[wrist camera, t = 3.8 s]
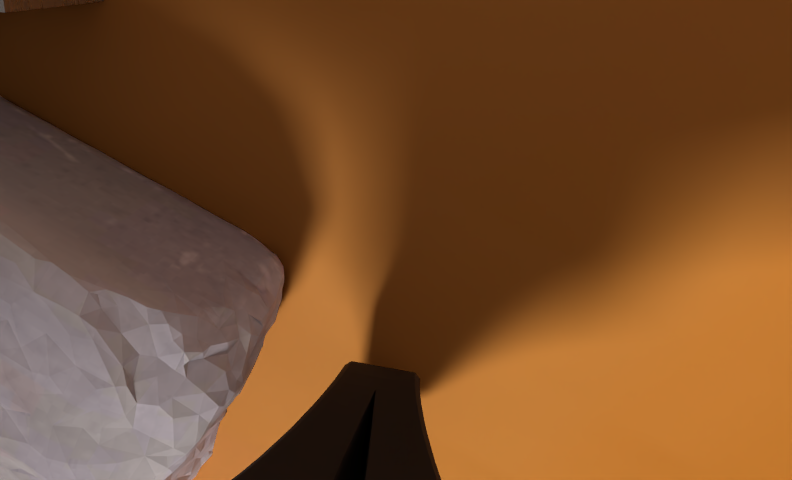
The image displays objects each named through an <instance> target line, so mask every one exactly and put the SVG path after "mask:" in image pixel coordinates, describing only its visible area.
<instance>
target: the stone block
mask: <svg viewBox="0 0 792 480" xmlns="http://www.w3.org/2000/svg"><path fill="white" fill-rule="evenodd" d="M283 284H284V266H283V265H282V263H281V261H280V260H279V258H278V257H277V255H276V254H274V253H273V252H271V251H270V250H269V249H268V248H266V247H265V246H264V245H263V244H262V243H261V242H259V241H258V240H257V239H255V238H254V237H253V236H251V235H250V234H248V233H246V232H245V231H243V230H242V229H240V228H238V227H236V226H234V225H232V224H230V223H228V222H226V221H225V220H223V219H221V218H219V217H217V216H216V215H214V214H212V213H210V212H208V211H207V210H205V209H203V208H201V207H199V206H198V205H196V204H195V203H193V202H191V201H190V200H188V199H186V198H184V197H182V196H180V195H178V194H177V193H175V192H173V191H172V190H170V189H168V188H166V187H164V186H162V185H160V184H158V183H156V182H154V181H152V180H150V179H149V178H147V177H145V176H143V175H141V174H140V173H138V172H136V171H134V170H132V169H131V168H129V167H127V166H125V165H124V164H122V163H120V162H118V161H116V160H115V159H113V158H111V157H109V156H108V155H106V154H104V153H102V152H101V151H99V150H97V149H95V148H93V147H91V146H89V145H87V144H85V143H83V142H82V141H80V140H78V139H76V138H74V137H72V136H71V135H69V134H67V133H65V132H64V131H62V130H60V129H59V128H57V127H55V126H53V125H52V124H50V123H48V122H46V121H44V120H42V119H40V118H39V117H37V116H35V115H33V114H31V113H30V112H28V111H26V110H24V109H22V108H20V107H18V106H16V105H14V104H13V103H11V102H9V101H8V100H6V99H5V98H3V97H2V96H0V480H192V479H193V478H194V477H195V476H196V475H197V473H198V471H199V469H200V468H201V466H202V465H203V464H204V463H205V462H206V461H207V460H208V459H209V458H210V456H211V455H212V453H213V452H212V450H213V446H214V442H215V439H216V434H217V430H218V426H219V424H220V421H221V420H222V419H223V417H224V416H225V413H226V408H227V407H228V406H229V405H230V404H231V403H232V401H233V400H234V398H235V397H236V396H237V395H238V394H240V392H241V390H242V388H243V386H244V384H245V382H246V380H247V378H248V377H249V375H250V373H251V371H252V369H253V367H254V365H255V362H256V360H257V357H258V355H259V353H260V350H261V348H262V346H263V341H264V338H265V335H266V333H267V332H268V330H269V329H270V327H271V326H272V325H273V323H274V322H275V320H276V316H277V312H278V308H279V305H280V303H281V300H282V288H283Z"/></svg>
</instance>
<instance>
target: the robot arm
mask: <svg viewBox="0 0 792 480" xmlns="http://www.w3.org/2000/svg"><path fill="white" fill-rule="evenodd" d="M232 480H441V478H440V475H439V472H438V469H437V466H436V463H435V460H434V457H433V453H432V449H431V446H430V442H429V439H428V435H427V431H426V427H425V422H424V417H423V412H422V406H421V398H420V378H419V377H418V376H417V375H416V373H413V372H408V371H402V370H397V369H391V368H386V367H380V366H375V365H369V364H364V363H358V362H353V361H351V362H349V363H348V364H346V365H345V366H344V367H343V369H342V370H341V372H340V373H339V374H338V376H337V377H336V378H335V380H334V381H333V382H332V384H331V385H330V386H329V387H328V388H327V390H326V391H325V392H324V393H323V394H322V395H321V397H320V398H319V399H318V400H317V401H316V402H315V403H314V405H313V406H312V407H311V408H310V409H309V410H308V411H307V412H306V413H305V414H304V415H303V416H302V417H301V418H300V419H299V420H298V421H297V422H296V424H295V425H294V426H293V427H292V428H291V429H290V430H289V431H287V432H286V433H285V434H284V435H283V436H282V437H281V438H280V439H279V440H278V441H277V442H276V443H274V444H273V445H272V446H271V447H270V448H269V449H268V450H267V451H266V452H265V453H264V454H263V455H261V456H260V457H259V458H258V459H257V460H256V461H254V462H253V463H252V464H251V465H250V466H248V467H247V468H246V469H245V470H243V471H242V472H241V473H240V474H238V475H237V476H236V477H235V478H233V479H232Z"/></svg>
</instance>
